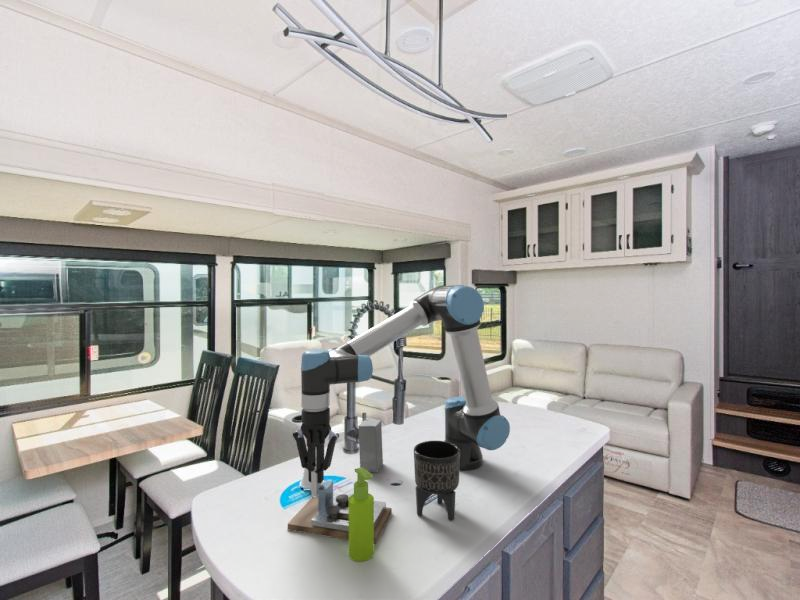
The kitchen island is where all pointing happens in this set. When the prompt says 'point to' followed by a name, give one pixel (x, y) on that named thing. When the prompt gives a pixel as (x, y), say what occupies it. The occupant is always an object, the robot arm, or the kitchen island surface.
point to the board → (313, 510)
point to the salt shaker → (306, 480)
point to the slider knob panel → (329, 499)
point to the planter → (436, 473)
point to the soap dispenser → (361, 519)
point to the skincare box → (370, 445)
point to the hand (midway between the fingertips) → (316, 493)
